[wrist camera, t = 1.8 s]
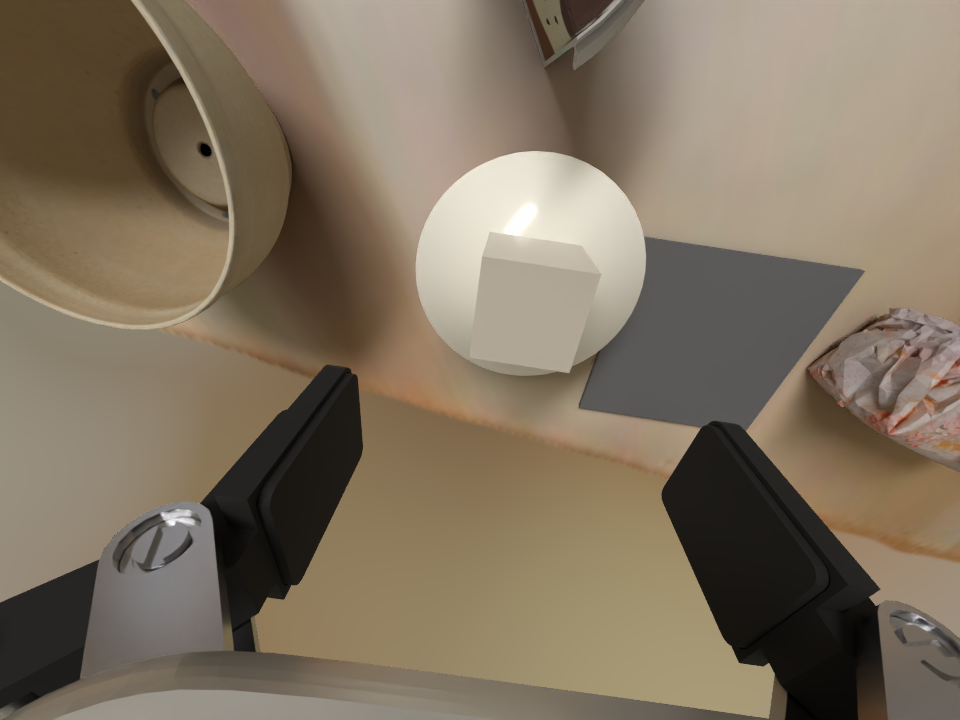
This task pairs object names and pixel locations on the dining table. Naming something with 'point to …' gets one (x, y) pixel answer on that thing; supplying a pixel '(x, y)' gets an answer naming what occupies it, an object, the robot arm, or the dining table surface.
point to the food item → (901, 381)
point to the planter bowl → (131, 161)
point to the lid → (530, 263)
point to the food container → (576, 26)
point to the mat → (713, 333)
